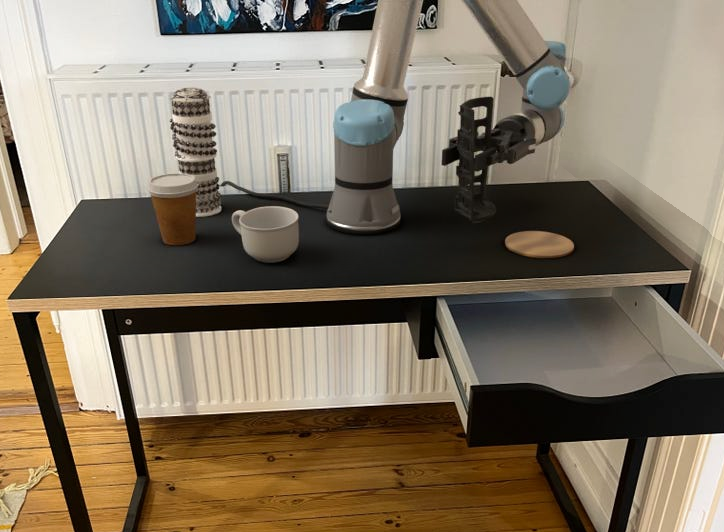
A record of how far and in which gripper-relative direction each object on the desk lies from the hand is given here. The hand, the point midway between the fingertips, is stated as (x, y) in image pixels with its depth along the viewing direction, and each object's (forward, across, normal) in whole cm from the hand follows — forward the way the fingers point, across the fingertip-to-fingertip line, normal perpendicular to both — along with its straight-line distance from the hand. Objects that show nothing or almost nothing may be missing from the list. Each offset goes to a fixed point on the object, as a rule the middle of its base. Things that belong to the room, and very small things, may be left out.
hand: (460, 160), depth 133 cm
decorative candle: (+8, +58, -18) cm, 61 cm away
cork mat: (-15, -10, -18) cm, 26 cm away
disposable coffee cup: (+23, +48, -18) cm, 57 cm away
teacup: (+19, +30, -18) cm, 40 cm away
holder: (-5, 0, -11) cm, 12 cm away
